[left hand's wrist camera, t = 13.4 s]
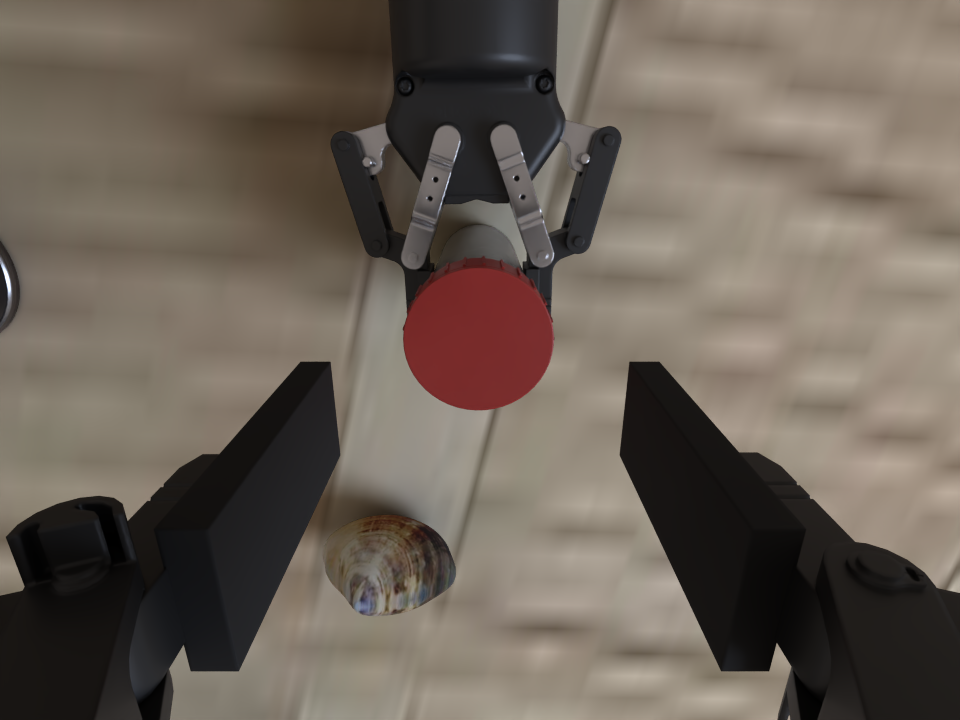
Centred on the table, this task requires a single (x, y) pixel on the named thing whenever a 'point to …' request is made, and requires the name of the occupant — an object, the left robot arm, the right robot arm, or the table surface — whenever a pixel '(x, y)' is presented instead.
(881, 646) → the left robot arm
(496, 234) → the jar
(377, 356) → the table surface
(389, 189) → the table surface
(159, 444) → the table surface
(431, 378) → the lid
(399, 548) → the seashell
